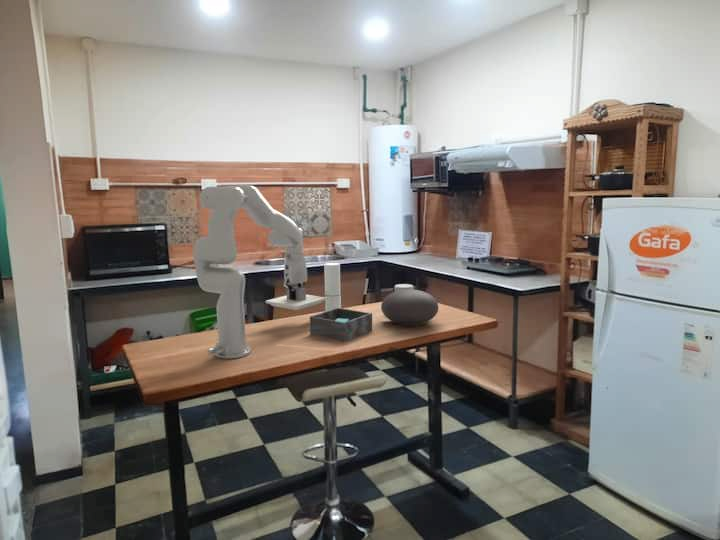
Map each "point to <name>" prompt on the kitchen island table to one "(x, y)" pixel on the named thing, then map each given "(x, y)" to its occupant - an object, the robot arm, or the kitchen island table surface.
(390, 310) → the squat round vase
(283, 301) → the lid
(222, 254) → the robot arm
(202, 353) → the kitchen island table surface
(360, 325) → the box
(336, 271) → the tall white block
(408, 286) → the coffee cup
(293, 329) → the kitchen island table surface
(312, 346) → the kitchen island table surface
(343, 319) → the teal block
